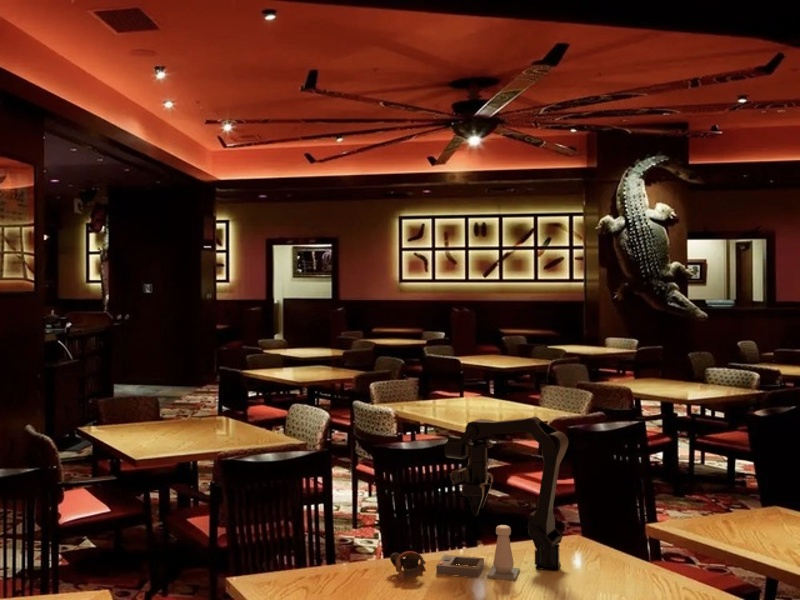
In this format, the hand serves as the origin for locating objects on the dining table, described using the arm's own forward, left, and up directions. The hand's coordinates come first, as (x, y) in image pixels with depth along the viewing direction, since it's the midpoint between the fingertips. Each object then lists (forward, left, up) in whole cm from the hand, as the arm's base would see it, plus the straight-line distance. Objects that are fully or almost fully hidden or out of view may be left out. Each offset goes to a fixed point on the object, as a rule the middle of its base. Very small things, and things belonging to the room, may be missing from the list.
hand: (478, 511), depth 244 cm
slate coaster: (-10, +16, -13) cm, 23 cm away
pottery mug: (+15, +25, -13) cm, 32 cm away
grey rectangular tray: (+2, +16, -13) cm, 21 cm away
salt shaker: (-10, +16, -12) cm, 23 cm away
